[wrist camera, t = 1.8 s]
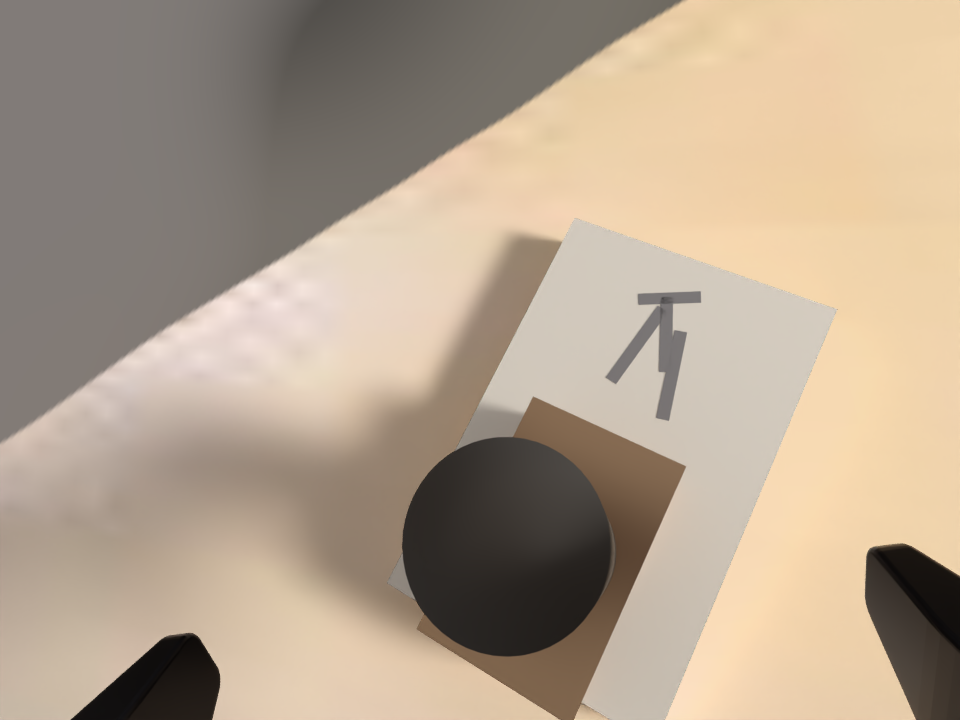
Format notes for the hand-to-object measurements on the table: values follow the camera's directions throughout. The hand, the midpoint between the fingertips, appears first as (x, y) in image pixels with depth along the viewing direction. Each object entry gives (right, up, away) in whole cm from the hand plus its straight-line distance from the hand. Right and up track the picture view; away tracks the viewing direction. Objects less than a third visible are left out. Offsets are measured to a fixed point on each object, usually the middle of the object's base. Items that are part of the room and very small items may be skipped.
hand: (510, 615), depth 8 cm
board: (+4, 0, +14) cm, 14 cm away
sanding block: (+2, -2, +11) cm, 12 cm away
